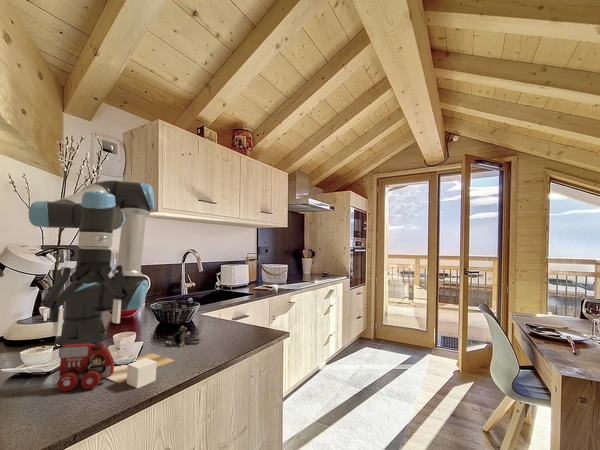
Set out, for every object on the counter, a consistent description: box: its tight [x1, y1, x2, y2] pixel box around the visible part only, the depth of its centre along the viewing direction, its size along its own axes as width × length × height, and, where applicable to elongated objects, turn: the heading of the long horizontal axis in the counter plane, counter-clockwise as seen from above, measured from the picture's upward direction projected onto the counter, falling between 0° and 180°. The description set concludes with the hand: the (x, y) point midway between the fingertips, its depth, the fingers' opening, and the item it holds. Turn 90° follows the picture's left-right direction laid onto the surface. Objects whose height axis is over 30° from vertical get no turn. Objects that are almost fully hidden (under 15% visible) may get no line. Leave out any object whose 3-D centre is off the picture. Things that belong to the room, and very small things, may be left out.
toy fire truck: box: [57, 341, 115, 392], centre depth 72 cm, size 7×12×10 cm, turn 103°
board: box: [104, 352, 176, 385], centre depth 83 cm, size 13×17×1 cm
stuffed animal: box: [165, 325, 203, 348], centre depth 105 cm, size 12×10×12 cm
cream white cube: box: [126, 358, 157, 389], centre depth 74 cm, size 5×5×5 cm
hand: (88, 328), depth 73 cm, fingers open, 13 cm apart
